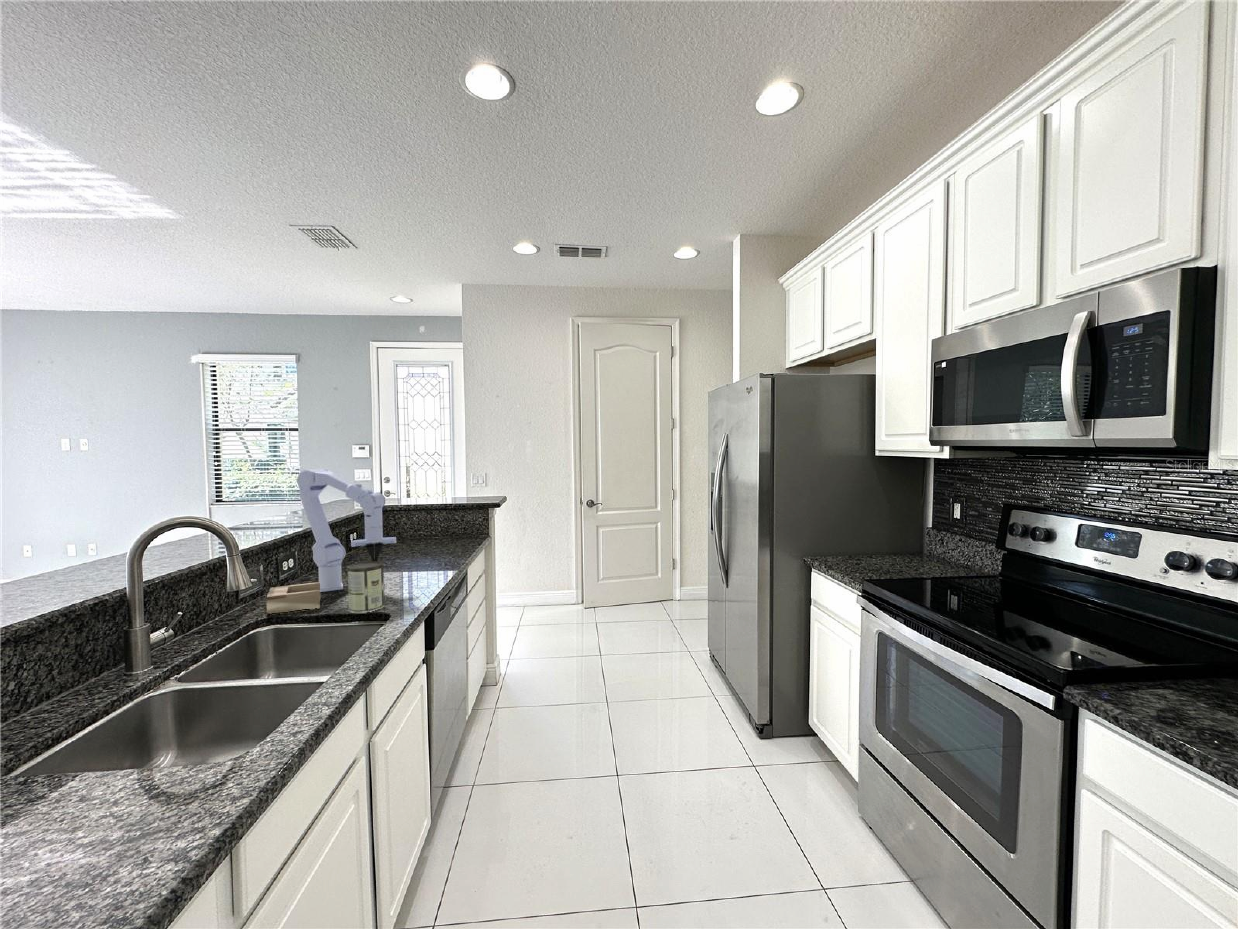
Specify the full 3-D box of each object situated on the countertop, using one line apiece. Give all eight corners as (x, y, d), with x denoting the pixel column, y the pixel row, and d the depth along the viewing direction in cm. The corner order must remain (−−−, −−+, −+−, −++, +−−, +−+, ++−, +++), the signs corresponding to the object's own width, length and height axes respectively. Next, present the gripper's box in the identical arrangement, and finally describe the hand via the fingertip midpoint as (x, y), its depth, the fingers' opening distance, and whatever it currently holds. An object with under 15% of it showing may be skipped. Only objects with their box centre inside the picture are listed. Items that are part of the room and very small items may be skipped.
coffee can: (360, 603, 170) (359, 561, 170) (390, 604, 169) (389, 561, 169) (340, 613, 160) (339, 568, 160) (372, 614, 159) (371, 568, 159)
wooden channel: (271, 604, 170) (270, 587, 170) (320, 598, 177) (319, 582, 177) (267, 615, 159) (266, 597, 159) (319, 608, 166) (319, 590, 166)
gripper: (351, 530, 178) (352, 569, 179) (396, 526, 185) (397, 564, 186) (350, 527, 184) (351, 565, 185) (394, 524, 192) (395, 561, 192)
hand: (374, 564), depth 186 cm, fingers closed
